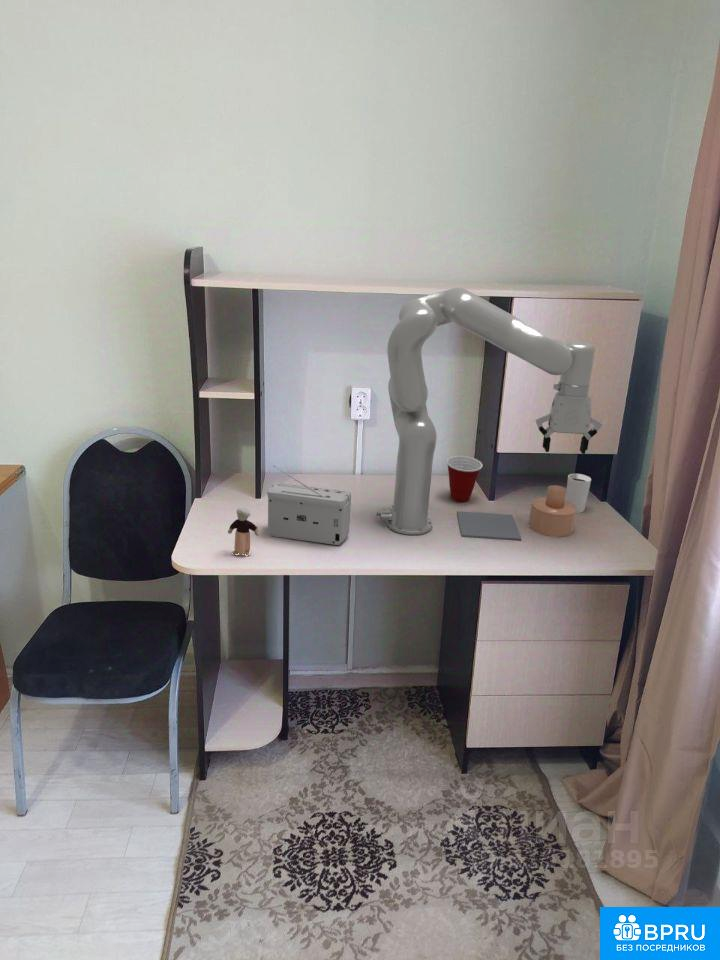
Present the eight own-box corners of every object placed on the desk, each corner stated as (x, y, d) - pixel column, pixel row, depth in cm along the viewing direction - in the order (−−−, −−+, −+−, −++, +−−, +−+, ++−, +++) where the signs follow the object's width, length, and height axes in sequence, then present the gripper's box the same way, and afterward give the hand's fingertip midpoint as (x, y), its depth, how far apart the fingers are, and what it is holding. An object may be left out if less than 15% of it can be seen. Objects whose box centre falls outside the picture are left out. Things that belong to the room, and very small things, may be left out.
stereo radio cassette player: (349, 535, 194) (353, 465, 186) (342, 549, 186) (346, 476, 179) (274, 525, 197) (275, 455, 190) (264, 537, 190) (264, 465, 182)
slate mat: (461, 536, 196) (461, 534, 196) (456, 512, 211) (457, 511, 211) (521, 540, 196) (521, 538, 196) (512, 516, 211) (512, 514, 211)
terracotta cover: (533, 535, 200) (539, 495, 195) (526, 517, 211) (531, 479, 206) (577, 538, 199) (584, 498, 195) (567, 520, 210) (574, 482, 206)
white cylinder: (573, 514, 215) (578, 482, 211) (558, 505, 220) (563, 475, 217) (590, 511, 217) (596, 480, 214) (575, 503, 223) (580, 472, 219)
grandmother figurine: (227, 557, 178) (226, 510, 174) (228, 550, 182) (227, 503, 177) (258, 557, 179) (258, 510, 175) (259, 550, 183) (259, 504, 178)
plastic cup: (450, 506, 215) (454, 468, 211) (437, 493, 225) (441, 456, 220) (484, 504, 218) (489, 467, 214) (469, 491, 228) (474, 455, 223)
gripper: (543, 391, 187) (534, 454, 194) (610, 394, 187) (600, 457, 193) (537, 384, 194) (529, 445, 201) (603, 387, 194) (593, 448, 200)
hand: (564, 451), depth 197 cm, fingers open, 9 cm apart
